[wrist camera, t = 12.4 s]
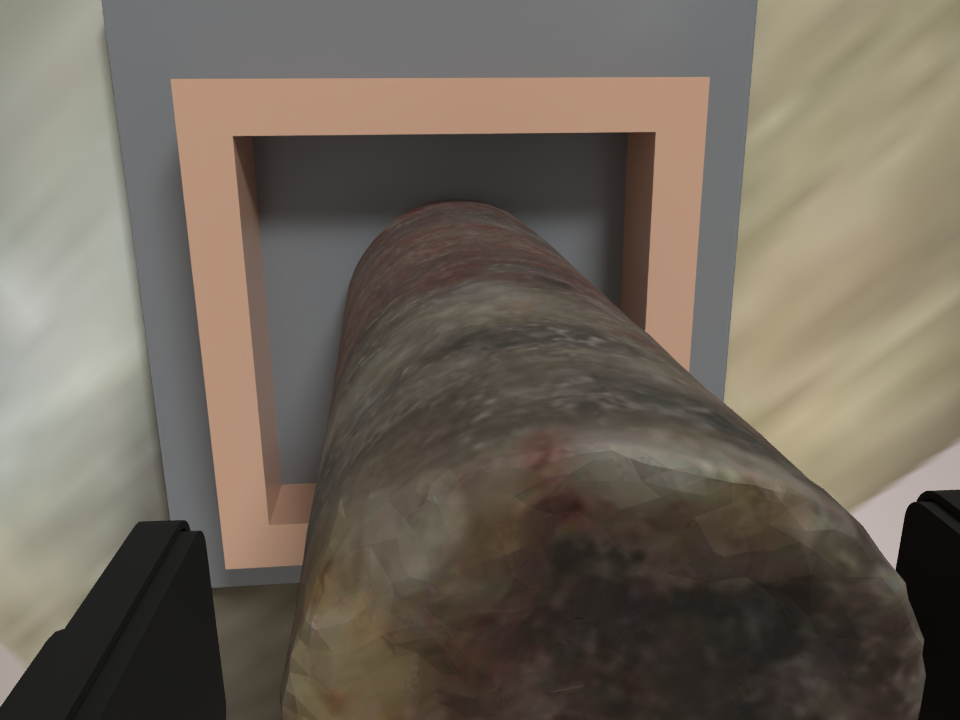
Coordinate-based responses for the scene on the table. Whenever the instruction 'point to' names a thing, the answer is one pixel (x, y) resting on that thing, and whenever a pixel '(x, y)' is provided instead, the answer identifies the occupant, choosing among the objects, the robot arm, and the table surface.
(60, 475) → the table surface
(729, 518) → the candle
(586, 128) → the tray
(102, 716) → the robot arm
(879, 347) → the table surface
